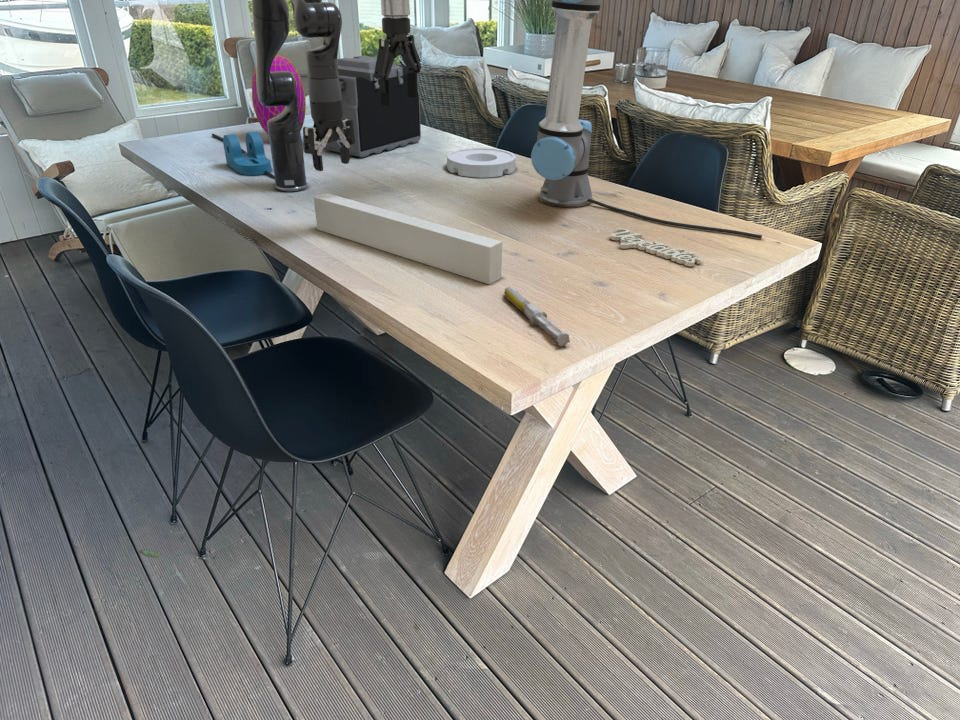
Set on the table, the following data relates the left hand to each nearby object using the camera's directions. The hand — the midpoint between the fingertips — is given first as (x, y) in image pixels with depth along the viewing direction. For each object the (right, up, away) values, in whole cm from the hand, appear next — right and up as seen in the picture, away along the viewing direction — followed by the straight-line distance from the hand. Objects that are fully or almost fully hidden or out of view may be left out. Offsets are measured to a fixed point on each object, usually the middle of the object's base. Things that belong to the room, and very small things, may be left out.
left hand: (332, 166), depth 170 cm
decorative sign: (+79, -21, 0) cm, 81 cm away
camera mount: (-40, +16, +60) cm, 73 cm away
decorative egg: (-39, +37, +95) cm, 109 cm away
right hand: (+14, +25, +23) cm, 37 cm away
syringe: (+47, -40, -34) cm, 70 cm away
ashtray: (+37, +17, +63) cm, 75 cm away
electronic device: (-4, +33, +88) cm, 94 cm away
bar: (+18, -22, -3) cm, 28 cm away
